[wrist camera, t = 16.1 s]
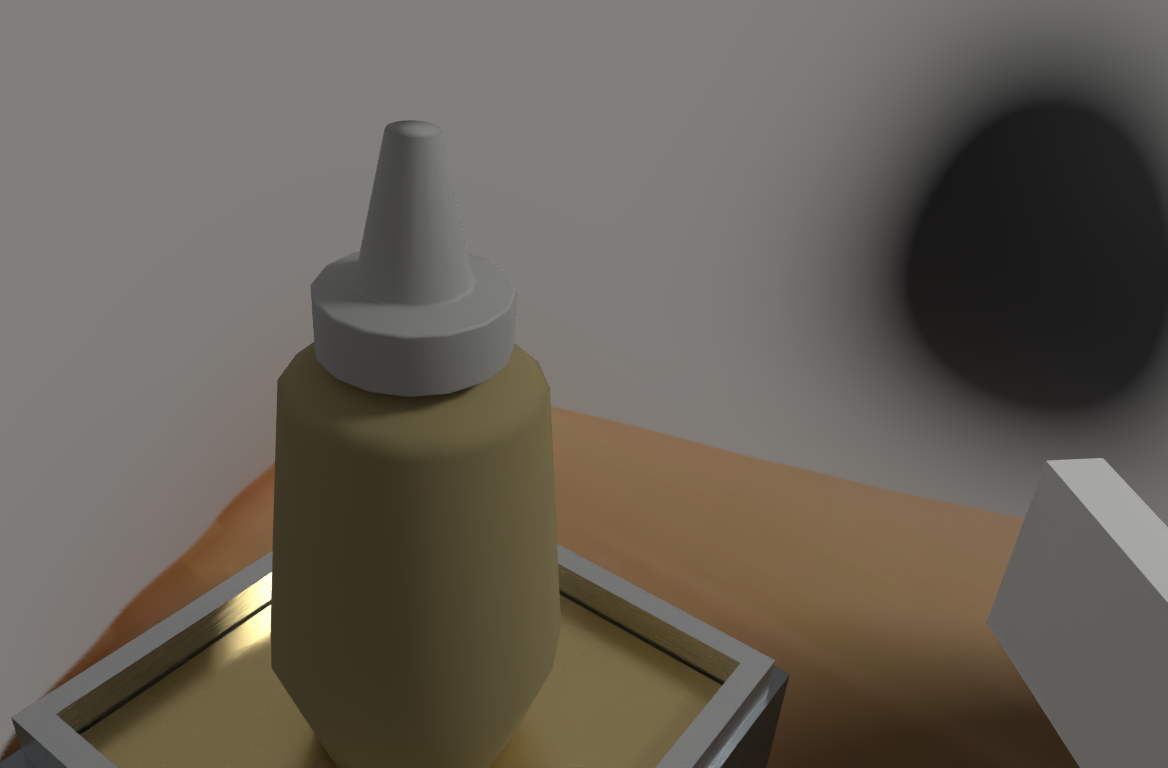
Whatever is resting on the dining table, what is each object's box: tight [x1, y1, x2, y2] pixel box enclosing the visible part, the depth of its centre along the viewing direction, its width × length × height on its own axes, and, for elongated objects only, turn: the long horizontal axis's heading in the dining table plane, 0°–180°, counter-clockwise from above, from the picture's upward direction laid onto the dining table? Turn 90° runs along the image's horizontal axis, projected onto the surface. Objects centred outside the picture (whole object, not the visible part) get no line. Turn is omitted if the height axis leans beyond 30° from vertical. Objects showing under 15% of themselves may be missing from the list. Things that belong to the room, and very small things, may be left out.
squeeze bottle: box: [270, 121, 561, 768], centre depth 27 cm, size 8×8×18 cm
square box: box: [0, 544, 789, 768], centre depth 33 cm, size 18×16×6 cm
